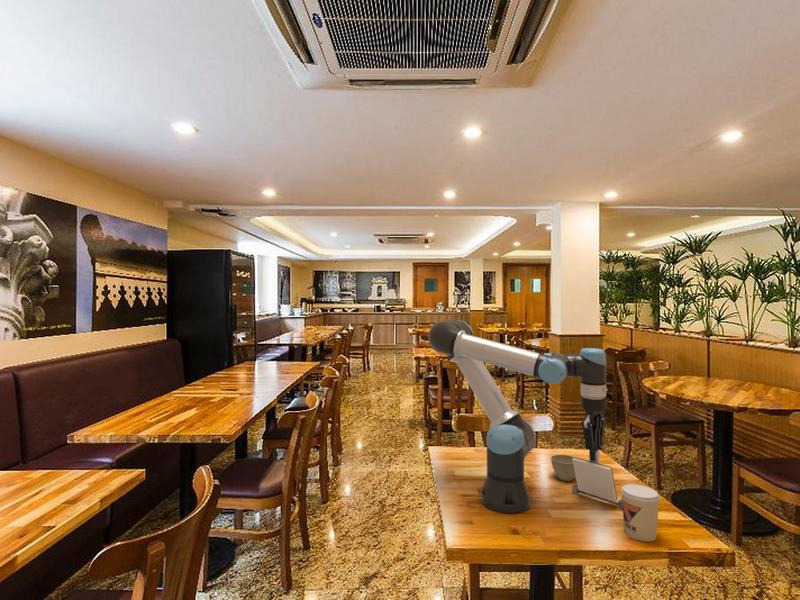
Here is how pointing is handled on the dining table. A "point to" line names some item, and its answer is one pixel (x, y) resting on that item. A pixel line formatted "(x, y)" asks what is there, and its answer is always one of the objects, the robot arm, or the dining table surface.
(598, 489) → the tile
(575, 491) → the hinge bracket
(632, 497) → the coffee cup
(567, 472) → the flower pot
